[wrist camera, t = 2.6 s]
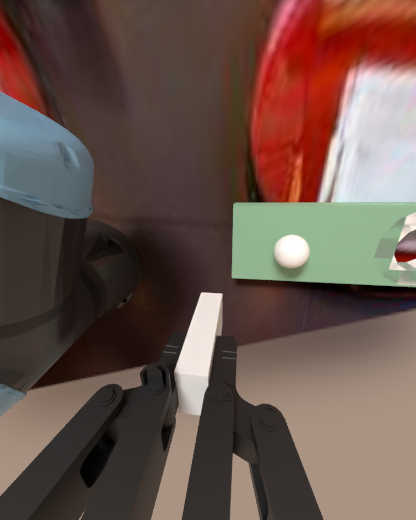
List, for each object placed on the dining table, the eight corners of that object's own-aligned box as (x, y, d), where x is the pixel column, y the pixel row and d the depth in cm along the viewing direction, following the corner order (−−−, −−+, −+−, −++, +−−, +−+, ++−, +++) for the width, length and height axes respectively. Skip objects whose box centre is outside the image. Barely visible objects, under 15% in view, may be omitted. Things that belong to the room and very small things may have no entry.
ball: (270, 259, 28) (274, 273, 25) (273, 230, 27) (277, 240, 23) (302, 261, 28) (311, 275, 24) (307, 230, 26) (317, 241, 22)
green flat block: (232, 270, 32) (231, 285, 28) (234, 202, 28) (232, 208, 24) (445, 279, 28) (479, 298, 24) (481, 202, 24) (529, 209, 20)
